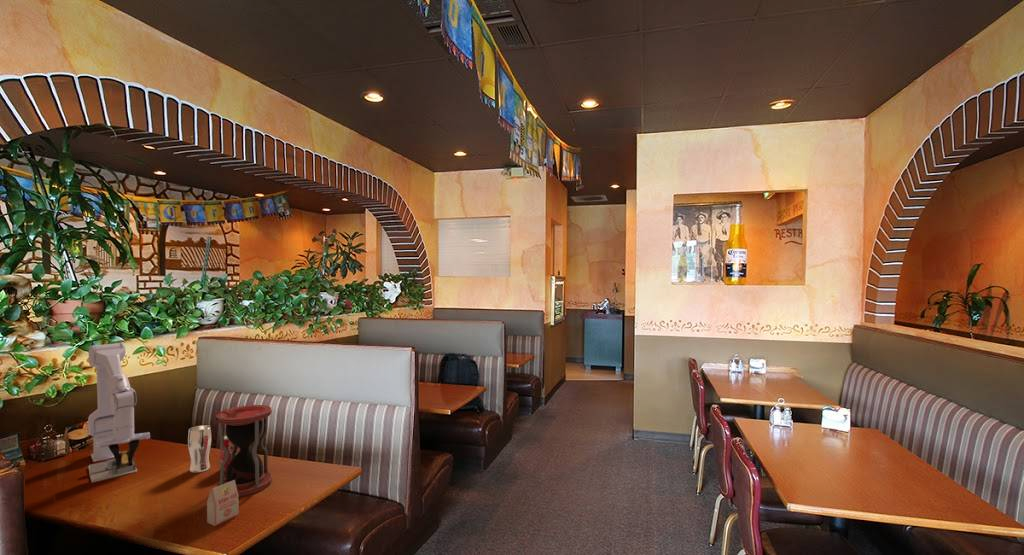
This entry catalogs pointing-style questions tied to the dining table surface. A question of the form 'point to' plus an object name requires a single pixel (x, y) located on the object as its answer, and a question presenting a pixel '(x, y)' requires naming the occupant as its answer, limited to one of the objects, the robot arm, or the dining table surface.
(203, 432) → the beer glass
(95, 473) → the hinge base
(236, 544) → the dining table surface
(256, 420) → the hourglass
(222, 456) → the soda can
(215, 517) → the white printed box
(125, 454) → the brass pin
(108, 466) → the grey slotted holder
